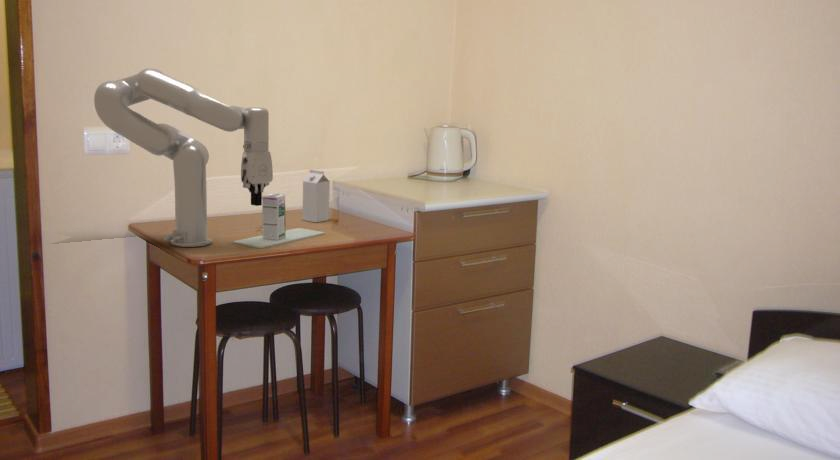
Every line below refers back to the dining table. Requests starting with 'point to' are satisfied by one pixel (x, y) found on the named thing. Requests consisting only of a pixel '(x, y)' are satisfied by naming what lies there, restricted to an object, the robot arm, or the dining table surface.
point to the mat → (290, 236)
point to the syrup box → (273, 216)
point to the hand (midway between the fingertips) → (256, 205)
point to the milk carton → (316, 197)
